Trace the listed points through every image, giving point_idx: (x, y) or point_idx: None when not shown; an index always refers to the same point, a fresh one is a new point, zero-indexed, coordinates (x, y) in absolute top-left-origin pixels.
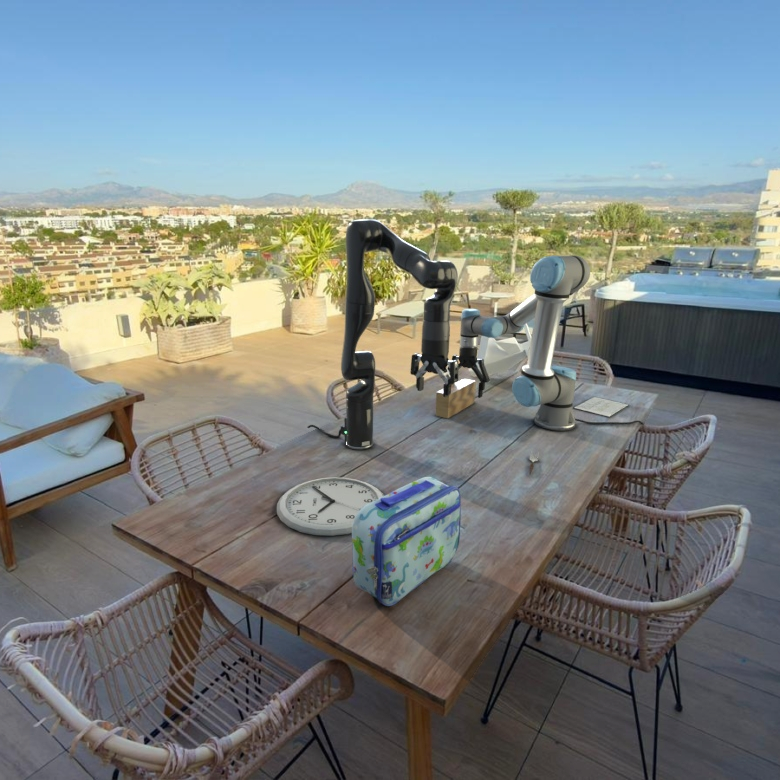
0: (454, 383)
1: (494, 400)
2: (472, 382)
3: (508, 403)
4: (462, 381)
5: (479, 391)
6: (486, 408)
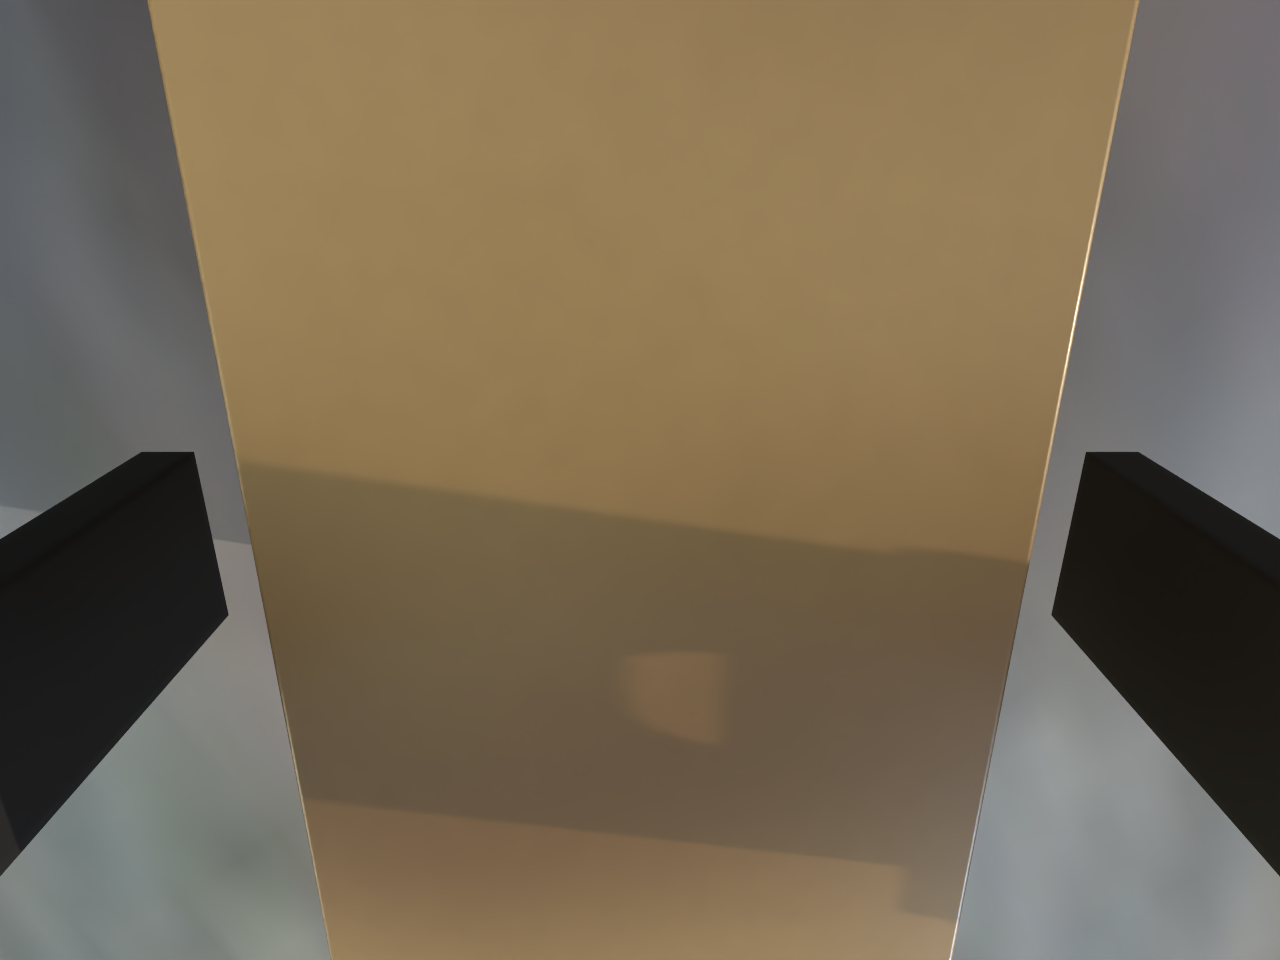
0: (1091, 9)
1: (294, 883)
2: (308, 826)
3: (28, 877)
4: (797, 700)
5: (28, 539)
6: (118, 419)
